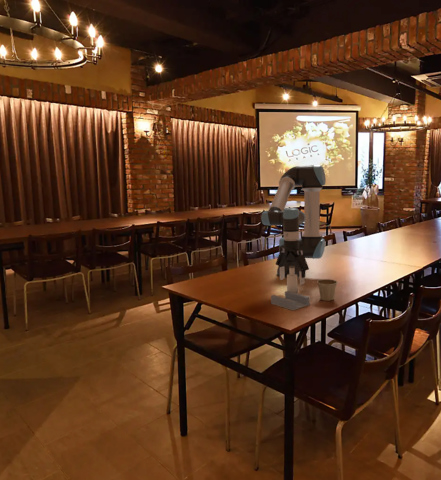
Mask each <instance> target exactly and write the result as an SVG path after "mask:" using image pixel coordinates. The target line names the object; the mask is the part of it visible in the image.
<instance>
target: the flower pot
mask: <svg viewBox="0 0 441 480" xmlns="http://www.w3.org/2000/svg"><path fill="white" fill-rule="evenodd" d="M316 283H317V285H318V290H319V297H320V298H319V299H320V300H322V301H324V302H330V301H334V300H335V299H334V298H335V293H336V287H337V284H338V281H337V280H335V279H328V278H325V279H324V278H322V279H319V280H317V281H316Z"/></svg>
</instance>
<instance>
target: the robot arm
mask: <svg viewBox="0 0 441 480" xmlns="http://www.w3.org/2000/svg"><path fill="white" fill-rule="evenodd" d="M326 181H327V180H326V172H325V169H324V167H323V166H322V165H320V164H311V165H310V164H309V165H297V166H296V165H295V166H293V167H290V168H289V169H288V170H286V171H285V172H284V173H283V174H282V176H280V179H279V181H278V185H279V186H278V188H277V190H276V193H275V195H274V197H273V200H272V202H271V204H270V206H269V209H268V210H266V211H262V213H261V217H260V218H261V223H262V225H264V226H282V227H283V231H282V232H283V237H281V238H279V241H278V252H279V253H278V257H277V259H276V261H275V265H276V266H277V270H276V275H277V276H279V281H280V280H281V281H282V280H285V279H286V278H287V275H288V274H289V266H295V274H297V277H299V285H304V284H305V283H306V281H305V278H306V271H308V270H310V268H309V264H308V263H307V260H306V259H313V260H314V259H321V258H322V257H323V255H324V252H325V248H326V240H325V238H323V236H322V234H321V233H320V206H321V205H320V201H321V200H320V199H321V198H320V196H321V195H320V192H321V191H322V189H323V186H325V185H326ZM296 187H301V190H302V191H304V192H303V193H304V198H303V199H304V203H303V204H304V211H302V210H299V209H298V208H297V207H296V208H295V207H291V208H288V207H287V208H286V206H287V203H288V200H289V198H290V195H291V193H292V191H293V190H294V189H295V188H296ZM301 225H303V227H304V229H303V230H304V232H303V234H301V237H300V229H299V228H300V226H301Z"/></svg>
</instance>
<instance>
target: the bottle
mask: <svg viewBox="0 0 441 480" xmlns="http://www.w3.org/2000/svg"><path fill="white" fill-rule="evenodd" d="M298 289H299V288H298V276H297V274H295V266H289V274H288V275H287V277H286V291H290V292H293V293H297V294H299V293H298Z"/></svg>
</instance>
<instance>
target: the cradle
mask: <svg viewBox="0 0 441 480" xmlns="http://www.w3.org/2000/svg"><path fill="white" fill-rule="evenodd" d="M310 299H311V297H310V296H307V295H304V294H300V293H298V294H297V293H293V292H290V291H287V290H285V291H284V297H283V296H279V295H276V294H272V295H270V304H271V305H274V306H278V307H281V308H284V309H287V310H291V311H296V310H299V309H301V308H304V307H308V306H310V305H311V304H310V303H311V302H310V301H311V300H310Z"/></svg>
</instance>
